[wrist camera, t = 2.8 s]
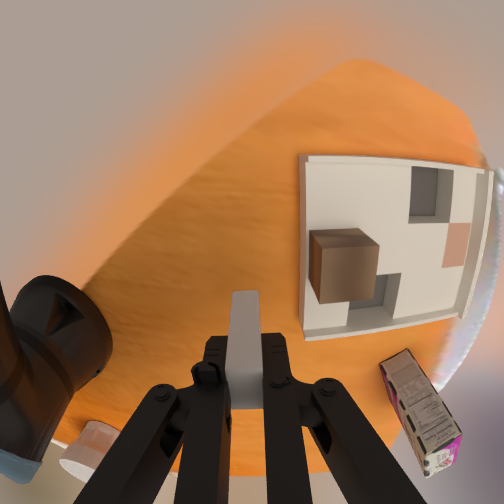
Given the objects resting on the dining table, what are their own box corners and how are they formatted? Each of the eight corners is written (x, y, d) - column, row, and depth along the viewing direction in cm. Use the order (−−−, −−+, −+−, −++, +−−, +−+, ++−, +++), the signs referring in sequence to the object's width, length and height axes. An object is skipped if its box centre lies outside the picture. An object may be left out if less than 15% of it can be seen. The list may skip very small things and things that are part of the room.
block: (308, 278, 25) (319, 304, 21) (309, 230, 24) (322, 248, 20) (354, 274, 25) (372, 298, 21) (358, 228, 24) (379, 245, 20)
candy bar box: (416, 386, 37) (456, 462, 21) (389, 401, 37) (424, 480, 22) (409, 345, 33) (465, 434, 18) (377, 362, 34) (423, 459, 18)
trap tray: (298, 317, 30) (306, 346, 26) (298, 154, 24) (310, 156, 20) (444, 298, 30) (465, 318, 26) (464, 164, 24) (493, 171, 20)
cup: (66, 413, 39) (46, 455, 28) (108, 412, 37) (89, 463, 27) (105, 449, 43) (92, 488, 33) (149, 449, 42) (139, 496, 31)
